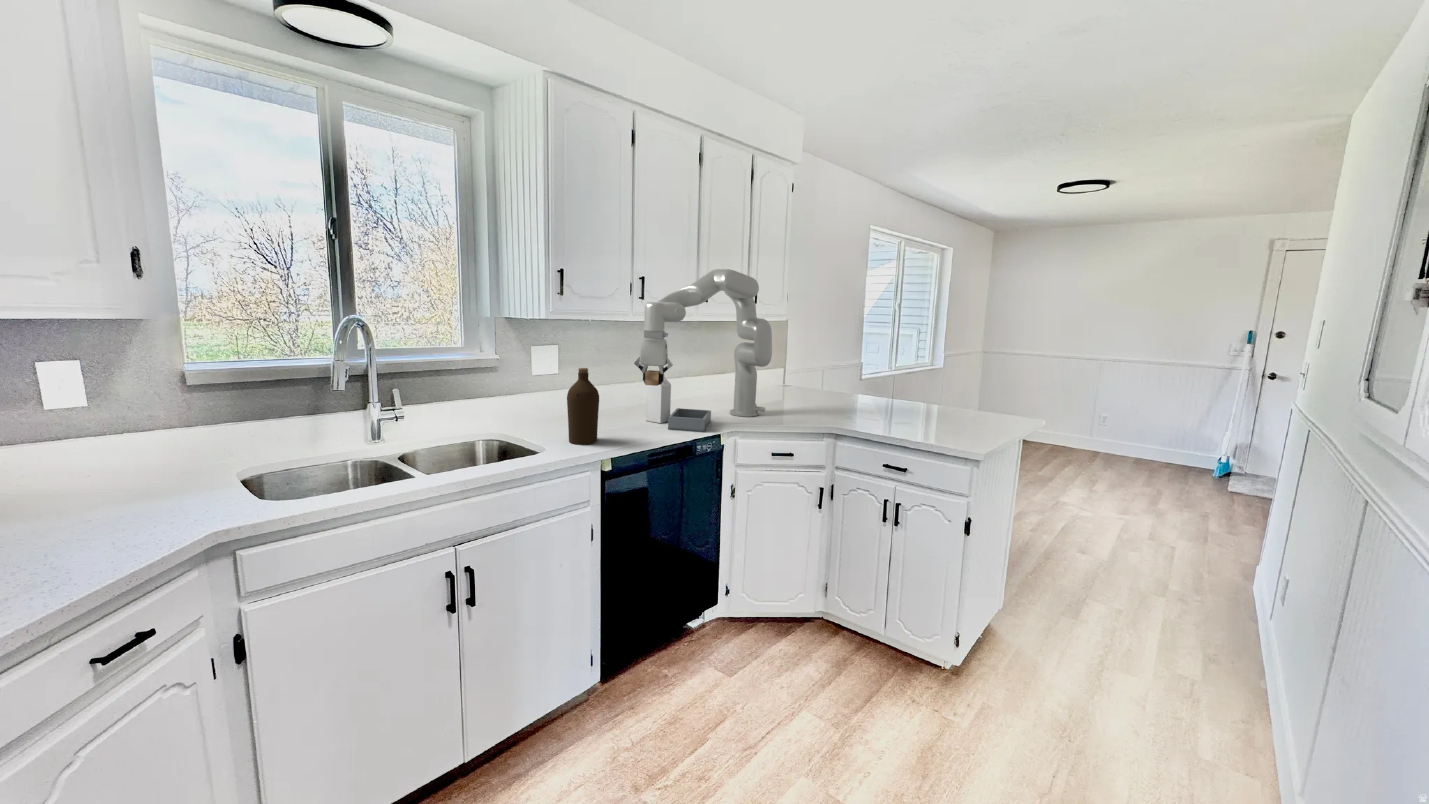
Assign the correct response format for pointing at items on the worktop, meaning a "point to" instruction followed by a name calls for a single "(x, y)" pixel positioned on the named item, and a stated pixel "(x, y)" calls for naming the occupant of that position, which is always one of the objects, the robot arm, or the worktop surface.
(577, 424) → the olive oil
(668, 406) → the milk carton
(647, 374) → the walnut cube
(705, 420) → the tote
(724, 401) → the worktop surface
